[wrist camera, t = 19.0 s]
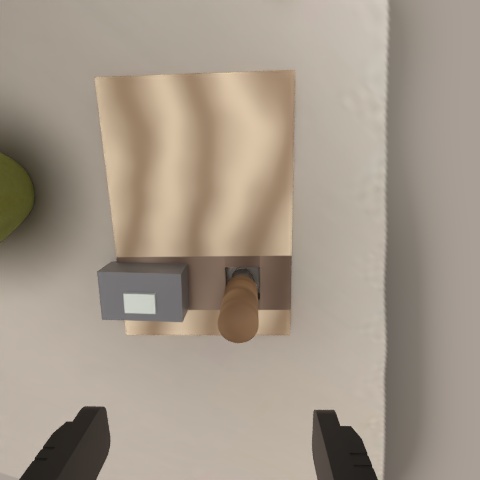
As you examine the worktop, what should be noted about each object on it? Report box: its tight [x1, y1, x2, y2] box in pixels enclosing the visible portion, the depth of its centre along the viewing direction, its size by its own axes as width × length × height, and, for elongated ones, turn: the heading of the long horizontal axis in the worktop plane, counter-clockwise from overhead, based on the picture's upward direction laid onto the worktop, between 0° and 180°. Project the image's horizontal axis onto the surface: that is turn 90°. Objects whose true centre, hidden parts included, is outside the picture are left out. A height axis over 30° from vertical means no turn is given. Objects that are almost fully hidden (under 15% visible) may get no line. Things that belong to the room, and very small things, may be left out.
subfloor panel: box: [94, 70, 295, 335], centre depth 32 cm, size 18×26×2 cm
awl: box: [218, 269, 259, 343], centre depth 29 cm, size 3×3×10 cm
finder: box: [97, 262, 189, 322], centre depth 31 cm, size 8×5×3 cm, turn 89°
